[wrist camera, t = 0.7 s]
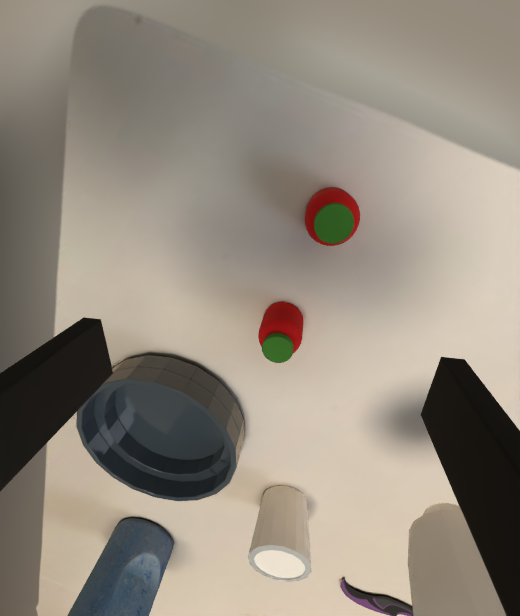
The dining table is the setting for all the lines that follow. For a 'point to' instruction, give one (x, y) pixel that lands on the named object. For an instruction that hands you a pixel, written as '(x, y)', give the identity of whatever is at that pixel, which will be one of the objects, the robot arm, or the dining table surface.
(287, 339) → the strawberry
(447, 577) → the cup
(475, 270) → the dining table surface
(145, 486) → the bowl
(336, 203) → the strawberry
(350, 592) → the knife
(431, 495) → the dining table surface
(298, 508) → the beige short cylinder
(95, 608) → the bottle
